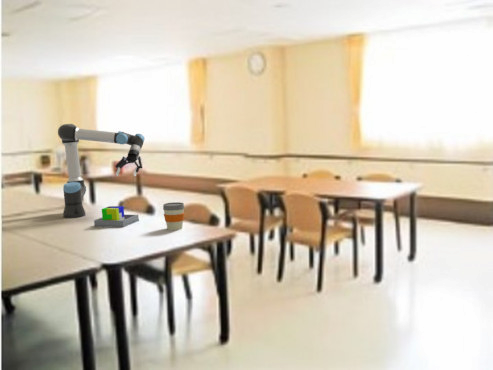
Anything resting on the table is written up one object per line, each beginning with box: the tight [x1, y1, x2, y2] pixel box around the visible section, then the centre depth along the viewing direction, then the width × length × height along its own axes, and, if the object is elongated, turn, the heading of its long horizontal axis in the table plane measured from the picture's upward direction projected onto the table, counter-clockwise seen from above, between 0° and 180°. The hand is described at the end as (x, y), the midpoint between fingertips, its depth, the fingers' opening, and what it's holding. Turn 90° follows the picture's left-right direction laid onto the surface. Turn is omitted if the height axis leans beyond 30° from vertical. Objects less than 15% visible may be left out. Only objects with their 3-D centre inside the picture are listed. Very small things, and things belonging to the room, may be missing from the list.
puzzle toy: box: [101, 205, 125, 220], centre depth 338 cm, size 10×10×10 cm
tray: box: [93, 214, 140, 228], centre depth 341 cm, size 20×20×4 cm
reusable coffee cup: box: [162, 201, 185, 231], centre depth 318 cm, size 13×13×15 cm
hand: (125, 175), depth 369 cm, fingers open, 13 cm apart
